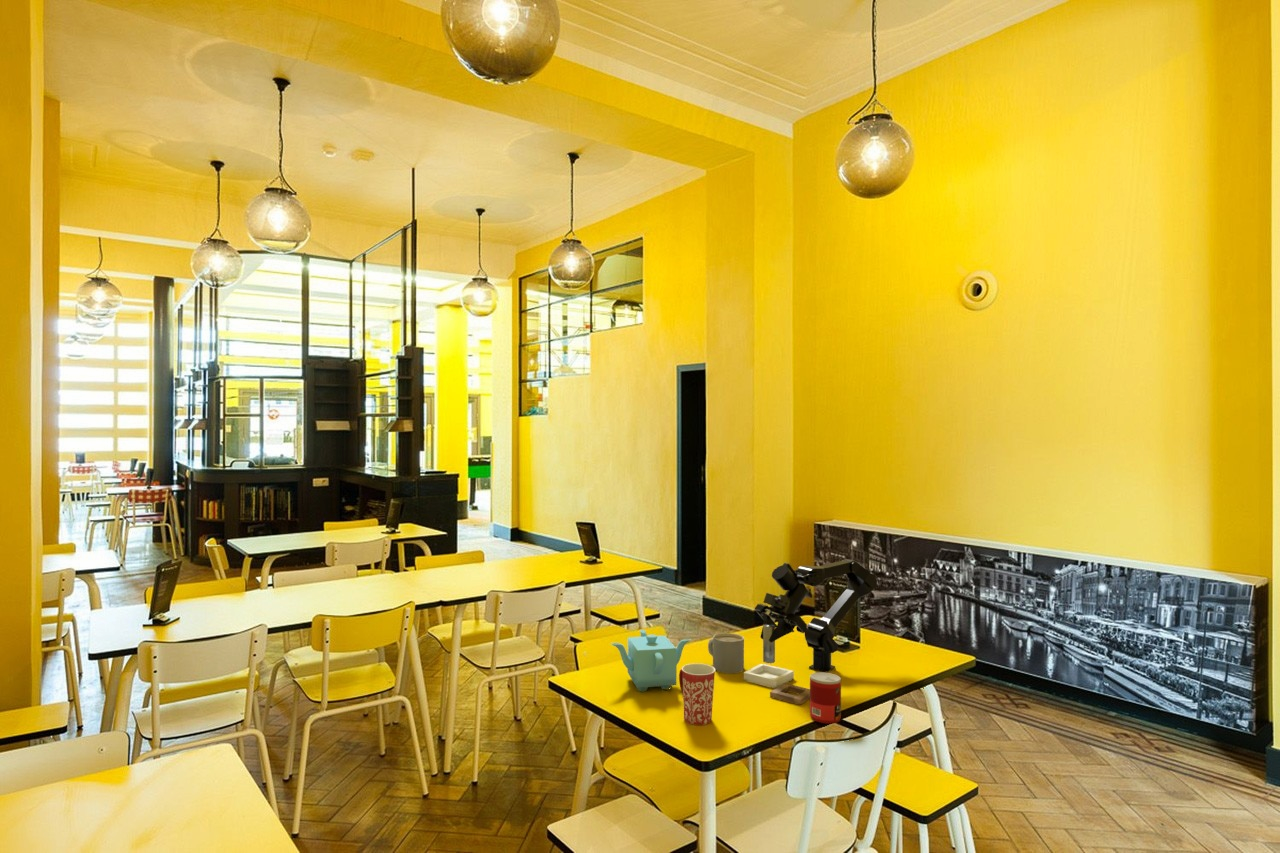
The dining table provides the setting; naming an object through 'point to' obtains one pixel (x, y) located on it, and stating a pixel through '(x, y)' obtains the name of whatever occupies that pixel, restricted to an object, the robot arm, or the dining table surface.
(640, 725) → the dining table surface
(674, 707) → the dining table surface
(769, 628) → the strut
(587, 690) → the dining table surface
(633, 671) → the teakettle
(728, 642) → the coffee mug
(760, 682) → the bin tray
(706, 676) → the mug
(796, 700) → the brown flat square frame
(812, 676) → the canned food
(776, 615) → the robot arm
